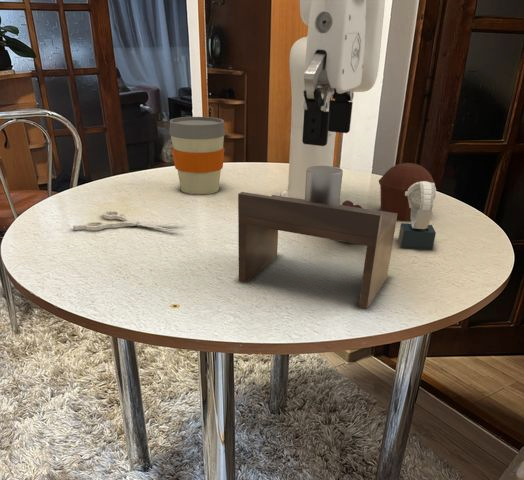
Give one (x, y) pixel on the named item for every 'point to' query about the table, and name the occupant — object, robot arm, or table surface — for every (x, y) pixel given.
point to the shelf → (313, 233)
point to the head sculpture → (419, 217)
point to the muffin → (400, 188)
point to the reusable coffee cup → (198, 152)
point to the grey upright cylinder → (323, 185)
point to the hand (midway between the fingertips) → (327, 137)
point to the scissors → (119, 223)
